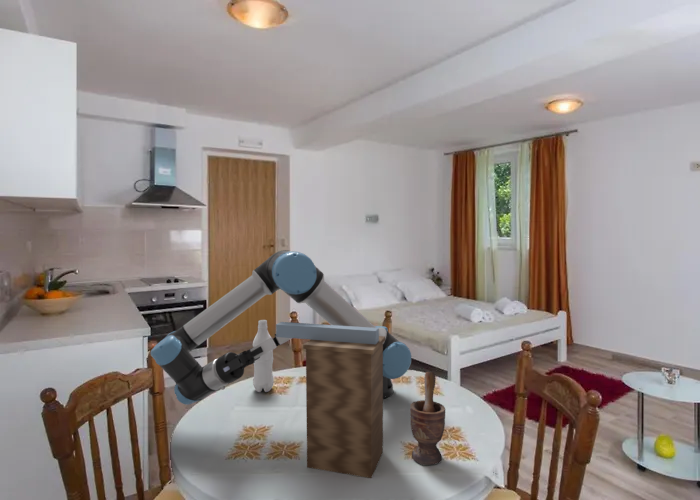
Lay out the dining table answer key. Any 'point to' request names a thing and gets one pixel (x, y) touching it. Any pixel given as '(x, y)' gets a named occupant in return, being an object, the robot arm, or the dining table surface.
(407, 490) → the dining table surface
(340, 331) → the bar
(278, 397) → the dining table surface
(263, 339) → the water bottle
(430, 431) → the mortar and pestle
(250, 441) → the dining table surface
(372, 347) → the stand
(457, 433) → the dining table surface
